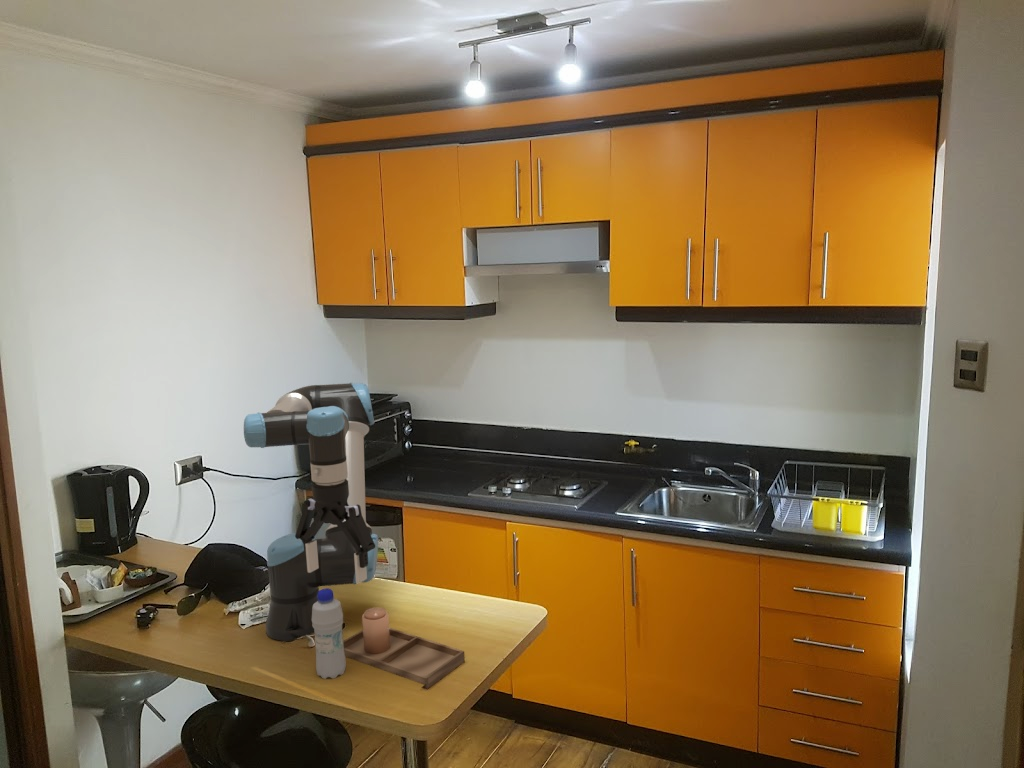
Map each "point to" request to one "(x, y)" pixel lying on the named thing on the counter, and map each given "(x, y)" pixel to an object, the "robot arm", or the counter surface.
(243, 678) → the counter surface
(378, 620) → the jar
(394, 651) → the caddy
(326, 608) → the bottle
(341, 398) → the robot arm
